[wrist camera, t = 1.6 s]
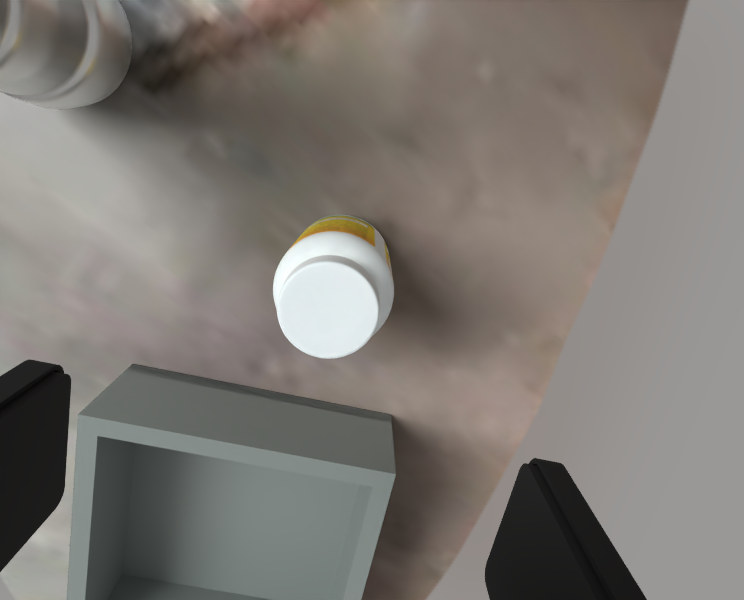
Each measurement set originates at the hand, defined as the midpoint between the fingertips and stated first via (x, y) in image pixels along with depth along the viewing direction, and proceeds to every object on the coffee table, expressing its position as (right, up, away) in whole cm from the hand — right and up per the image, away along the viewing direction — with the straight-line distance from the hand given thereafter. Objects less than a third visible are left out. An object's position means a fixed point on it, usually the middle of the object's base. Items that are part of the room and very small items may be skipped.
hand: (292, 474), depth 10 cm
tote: (-7, -9, +23) cm, 26 cm away
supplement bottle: (0, +6, +19) cm, 20 cm away
